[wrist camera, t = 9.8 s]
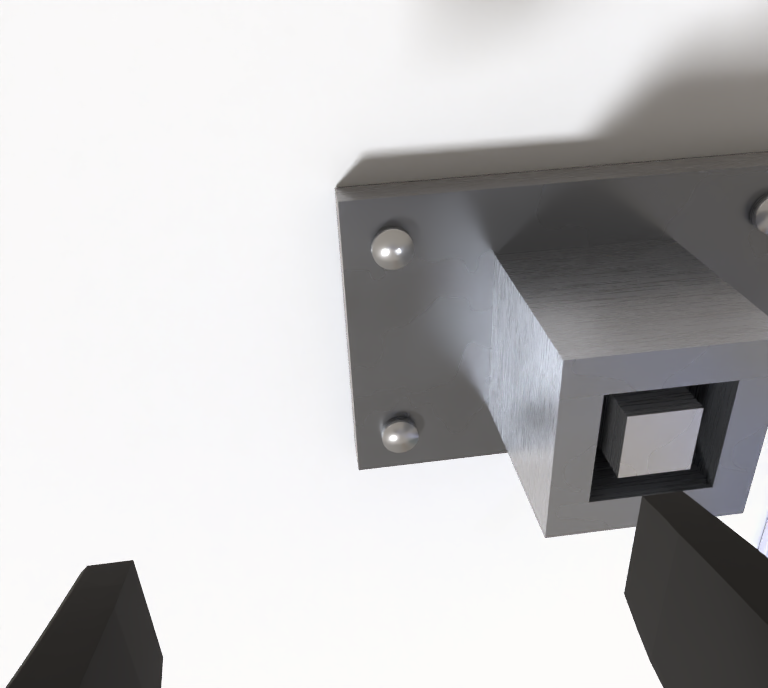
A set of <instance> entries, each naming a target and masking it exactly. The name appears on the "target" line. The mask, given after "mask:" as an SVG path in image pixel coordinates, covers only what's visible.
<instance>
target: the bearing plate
mask: <svg viewBox="0 0 768 688" xmlns="http://www.w3.org/2000/svg"><path fill="white" fill-rule="evenodd" d="M335 196H336V209H337V221H338V234H339V247H340V259H341V272H342V284H343V297H344V309H345V322H346V335H347V347H348V360H349V372H350V385H351V397H352V410H353V423H354V435H355V448H356V454H357V461H358V468H359V470H364V469H372V468H381V467H389V466H398V465H406V464H415V463H423V462H431V461H440V460H448V459H457V458H465V457H474V456H482V455H491V454H499V453H508V451H507V449H506V447H505V445H504V442H503V440H502V438H501V435H500V433H499V431H498V428H497V426H496V424H495V422H494V419H493V417H492V415H491V412H490V410H489V408H488V399H489V376H490V352H491V329H492V305H493V282H494V259H495V255H496V254H508V253H519V252H530V251H541V250H553V249H564V248H575V247H587V246H598V245H609V244H620V243H632V242H643V241H654V240H665V239H674V240H675V241H676V242H678V243H679V244H680V245H681V246H683V247H684V248H685V249H686V250H687V251H689V252H690V253H691V254H692V255H694V256H695V257H696V258H697V259H698V260H700V261H701V262H702V263H703V264H705V265H706V266H707V267H708V268H710V269H711V270H712V271H713V272H714V273H716V274H717V275H718V276H719V277H721V278H722V279H723V280H724V281H726V282H727V283H728V284H729V285H730V286H732V287H733V288H734V289H735V290H737V291H738V292H739V293H740V294H741V295H743V296H744V297H745V298H746V299H748V300H749V301H750V302H751V303H753V304H754V305H755V306H756V307H757V308H759V309H760V310H761V311H762V312H764V313H765V314H766V315H767V316H768V152H758V153H746V154H734V155H722V156H710V157H698V158H686V159H674V160H662V161H650V162H638V163H626V164H614V165H602V166H590V167H578V168H566V169H554V170H542V171H530V172H518V173H506V174H494V175H482V176H470V177H459V178H447V179H435V180H423V181H411V182H399V183H387V184H375V185H363V186H351V187H339V188H335ZM703 409H704V408H703V407H702V406H701V404H700V403H699V402H698V401H697V400H696V399H695V398H694V396H693V395H692V394H691V393H690V392H689V391H688V389H687V388H686V387H685V386H682V387H673V388H664V389H655V390H645V391H636V392H627V393H618V394H609V395H604V398H603V405H602V412H601V419H600V427H599V434H598V441H597V445H598V446H599V448H600V449H601V451H602V453H603V454H604V456H605V458H606V459H607V461H608V463H609V464H610V466H611V467H612V469H613V471H614V472H615V474H616V476H617V477H618V478H622V477H630V476H638V475H646V474H654V473H662V472H671V471H679V470H687V469H690V467H691V463H692V458H693V454H694V449H695V445H696V440H697V436H698V431H699V427H700V422H701V418H702V413H703Z"/></svg>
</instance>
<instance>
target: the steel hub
mask: <svg viewBox="0 0 768 688" xmlns="http://www.w3.org/2000/svg"><path fill="white" fill-rule="evenodd" d="M682 386H685V387H686V388H687V389H688V391H689V392H690V393H691V394H692V395H693V396H694V398H695V399H696V400H697V401H698V402H699V403H700V404H701V406H702V407H703V408H704V409H703V413H702V418H701V422H700V427H699V431H698V436H697V440H696V445H695V449H694V454H693V458H692V463H691V467H690V469H687V470H679V471H671V472H662V473H654V474H646V475H638V476H630V477H622V478H618V477H617V476H616V474H615V472H614V471H613V469H612V467H611V466H610V464H609V463H608V461H607V459H606V458H605V456H604V454H603V453H602V451H601V449H600V448H599V446H598V445H597V441H598V434H599V427H600V419H601V412H602V405H603V398H604V395H609V394H618V393H627V392H636V391H645V390H655V389H664V388H673V387H682ZM488 408H489V410H490V412H491V415H492V417H493V419H494V422H495V424H496V426H497V428H498V431H499V433H500V435H501V438H502V440H503V442H504V445H505V447H506V449H507V451H508V454H509V456H510V458H511V461H512V463H513V465H514V468H515V470H516V472H517V474H518V477H519V479H520V481H521V484H522V486H523V488H524V491H525V493H526V495H527V497H528V500H529V502H530V504H531V507H532V509H533V511H534V514H535V516H536V518H537V520H538V523H539V525H540V527H541V530H542V532H543V534H544V537H545V538H548V537H556V536H564V535H572V534H580V533H588V532H596V531H604V530H612V529H620V528H628V527H636V526H637V521H638V515H639V510H640V504H641V499H642V496H647V495H655V494H663V493H671V492H679V491H683V492H684V493H686V494H687V495H688V496H690V497H691V498H692V499H694V500H695V501H696V502H697V503H699V504H700V505H701V506H703V507H704V508H705V509H706V510H708V511H709V512H710V513H712V514H713V515H714V516H723V515H731V514H739V513H743V511H744V508H745V504H746V501H747V497H748V494H749V490H750V487H751V483H752V480H753V476H754V473H755V469H756V466H757V462H758V459H759V455H760V452H761V448H762V445H763V441H764V438H765V434H766V431H767V427H768V316H767V315H766V314H765V313H764V312H762V311H761V310H760V309H759V308H757V307H756V306H755V305H754V304H753V303H751V302H750V301H749V300H748V299H746V298H745V297H744V296H743V295H741V294H740V293H739V292H738V291H737V290H735V289H734V288H733V287H732V286H730V285H729V284H728V283H727V282H726V281H724V280H723V279H722V278H721V277H719V276H718V275H717V274H716V273H714V272H713V271H712V270H711V269H710V268H708V267H707V266H706V265H705V264H703V263H702V262H701V261H700V260H698V259H697V258H696V257H695V256H694V255H692V254H691V253H690V252H689V251H687V250H686V249H685V248H684V247H683V246H681V245H680V244H679V243H678V242H676V241H675V240H674V239H665V240H654V241H643V242H632V243H620V244H609V245H598V246H587V247H575V248H564V249H553V250H541V251H530V252H519V253H508V254H496V255H495V259H494V282H493V305H492V329H491V352H490V376H489V399H488Z"/></svg>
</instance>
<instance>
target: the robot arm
mask: <svg viewBox="0 0 768 688" xmlns="http://www.w3.org/2000/svg"><path fill="white" fill-rule="evenodd" d="M624 594H625V597H626V600H627V603H628V605H629V608H630V611H631V613H632V616H633V619H634V621H635V624H636V627H637V630H638V632H639V635H640V637H641V640H642V642H643V645H644V647H645V650H646V652H647V655H648V657H649V660H650V662H651V664H652V666H653V668H654V670H655V672H656V674H657V676H658V678H659V680H660V682H661V684H662V686H663V687H664V688H768V520H767V523H766V526H765V529H764V533H763V536H762V539H761V542H760V546H759V549H758V550H757V549H756V548H755V547H754V546H752V545H751V544H750V543H748V542H747V541H746V540H745V539H743V538H742V537H741V536H739V535H738V534H737V533H736V532H734V531H733V530H732V529H731V528H729V527H728V526H727V525H726V524H724V523H723V522H722V521H720V520H719V519H718V518H717V517H715V516H714V515H713V514H712V513H710V512H709V511H708V510H706V509H705V508H704V507H703V506H701V505H700V504H699V503H697V502H696V501H695V500H694V499H692V498H691V497H690V496H688V495H687V494H686V493H684V492H683V491H679V492H671V493H663V494H655V495H647V496H642V499H641V504H640V510H639V515H638V521H637V526H636V532H635V537H634V543H633V548H632V554H631V559H630V565H629V570H628V576H627V581H626V587H625V592H624ZM162 665H163V656H162V652H161V649H160V646H159V643H158V639H157V636H156V633H155V630H154V626H153V623H152V620H151V617H150V613H149V610H148V607H147V604H146V600H145V597H144V594H143V591H142V587H141V584H140V581H139V578H138V574H137V571H136V568H135V565H134V561H133V560H131V561H123V562H115V563H107V564H99V565H91V566H87V567H86V568H85V569H84V570H83V571H82V572H81V574H80V575H79V577H78V578H77V580H76V582H75V583H74V585H73V586H72V588H71V589H70V591H69V593H68V594H67V596H66V597H65V599H64V600H63V602H62V604H61V605H60V607H59V608H58V610H57V611H56V613H55V615H54V616H53V618H52V619H51V621H50V622H49V624H48V625H47V627H46V629H45V630H44V632H43V633H42V635H41V636H40V638H39V639H38V641H37V642H36V644H35V645H34V647H33V648H32V650H31V651H30V653H29V654H28V656H27V657H26V659H25V660H24V662H23V663H22V665H21V666H20V668H19V669H18V671H17V672H16V674H15V675H14V676H13V678H12V679H11V681H10V682H9V684H8V685H7V686H6V688H161V680H162Z"/></svg>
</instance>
